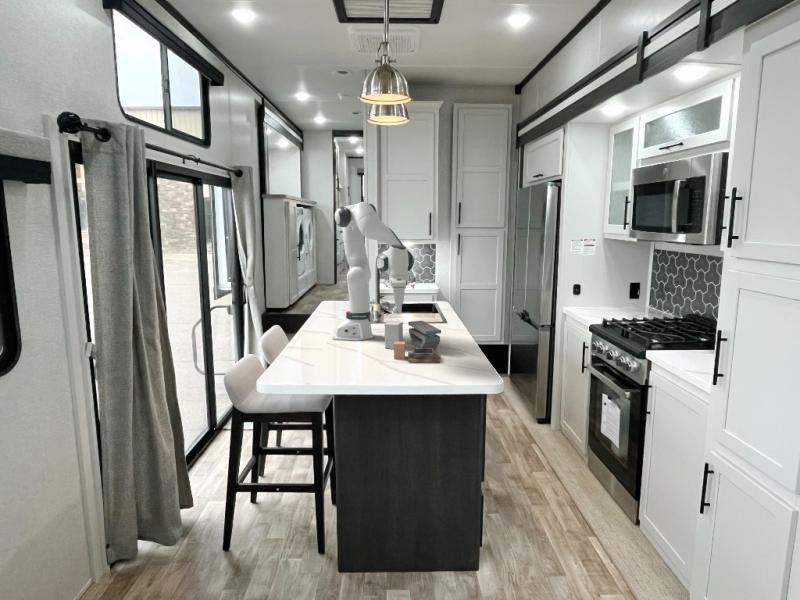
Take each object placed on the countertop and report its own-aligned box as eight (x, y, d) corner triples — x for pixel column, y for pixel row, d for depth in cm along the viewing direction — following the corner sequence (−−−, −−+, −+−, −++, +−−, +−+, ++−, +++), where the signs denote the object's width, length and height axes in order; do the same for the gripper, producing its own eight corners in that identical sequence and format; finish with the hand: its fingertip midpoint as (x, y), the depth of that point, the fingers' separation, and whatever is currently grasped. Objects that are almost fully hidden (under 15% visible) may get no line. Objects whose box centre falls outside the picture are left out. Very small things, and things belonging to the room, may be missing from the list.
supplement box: (403, 346, 249) (403, 321, 248) (398, 349, 243) (398, 324, 241) (389, 345, 252) (389, 320, 250) (384, 348, 245) (384, 323, 243)
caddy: (408, 362, 219) (408, 354, 219) (408, 354, 233) (408, 347, 233) (439, 362, 219) (440, 354, 219) (437, 354, 233) (437, 347, 233)
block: (394, 359, 226) (394, 344, 225) (394, 356, 231) (394, 341, 230) (404, 359, 226) (405, 344, 225) (404, 356, 231) (404, 341, 230)
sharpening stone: (440, 352, 238) (441, 330, 236) (425, 353, 235) (425, 331, 233) (422, 340, 261) (422, 320, 259) (408, 342, 259) (408, 321, 257)
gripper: (392, 278, 234) (393, 307, 236) (391, 283, 213) (392, 315, 215) (405, 278, 233) (406, 307, 235) (406, 283, 213) (406, 315, 215)
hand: (399, 311), depth 225 cm, fingers open, 8 cm apart
